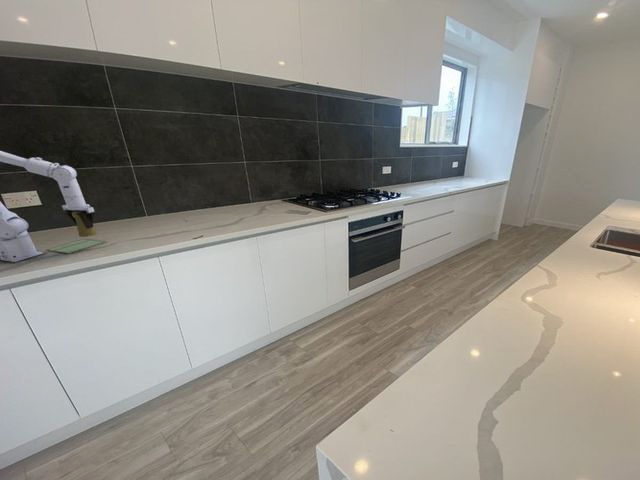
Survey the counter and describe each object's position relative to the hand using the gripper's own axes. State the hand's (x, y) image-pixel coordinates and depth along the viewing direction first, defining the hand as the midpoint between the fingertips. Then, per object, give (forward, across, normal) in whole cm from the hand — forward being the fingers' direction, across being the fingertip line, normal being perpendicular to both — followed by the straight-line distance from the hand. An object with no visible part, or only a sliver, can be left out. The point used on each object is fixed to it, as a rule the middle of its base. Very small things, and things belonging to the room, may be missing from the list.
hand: (85, 227), depth 130 cm
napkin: (+10, +10, 0) cm, 14 cm away
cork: (+4, 0, 0) cm, 4 cm away
